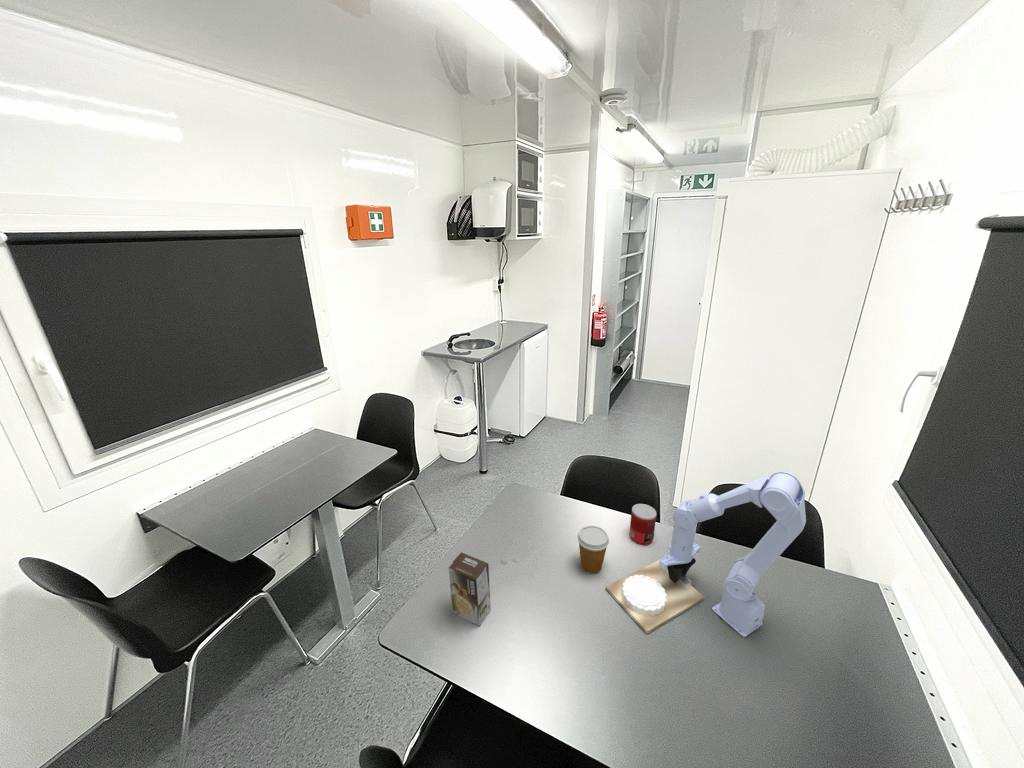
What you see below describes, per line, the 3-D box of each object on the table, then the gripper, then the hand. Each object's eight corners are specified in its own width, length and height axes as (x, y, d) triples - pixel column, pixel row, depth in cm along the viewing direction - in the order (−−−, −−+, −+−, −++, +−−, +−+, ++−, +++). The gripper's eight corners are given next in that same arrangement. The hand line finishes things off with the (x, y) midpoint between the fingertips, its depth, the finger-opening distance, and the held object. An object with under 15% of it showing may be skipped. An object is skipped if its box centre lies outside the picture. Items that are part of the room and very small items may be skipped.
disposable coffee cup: (604, 555, 128) (607, 525, 124) (608, 579, 119) (611, 547, 115) (575, 553, 129) (576, 523, 125) (576, 577, 120) (578, 545, 116)
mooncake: (612, 591, 115) (613, 582, 114) (645, 576, 119) (646, 567, 118) (641, 625, 105) (642, 615, 103) (675, 608, 109) (677, 598, 108)
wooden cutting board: (704, 599, 112) (705, 590, 111) (646, 634, 102) (648, 624, 101) (659, 561, 125) (661, 553, 124) (605, 589, 116) (606, 580, 114)
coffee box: (492, 608, 110) (490, 563, 105) (479, 627, 105) (477, 580, 99) (464, 595, 114) (461, 551, 109) (451, 613, 109) (447, 567, 103)
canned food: (648, 549, 131) (652, 521, 127) (625, 538, 135) (628, 512, 131) (656, 536, 136) (660, 509, 133) (633, 526, 141) (636, 500, 137)
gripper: (688, 524, 119) (682, 560, 124) (653, 540, 113) (648, 577, 117) (709, 538, 113) (702, 575, 118) (673, 557, 107) (667, 595, 111)
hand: (676, 578), depth 117 cm, fingers closed on wooden cutting board, 3 cm apart
